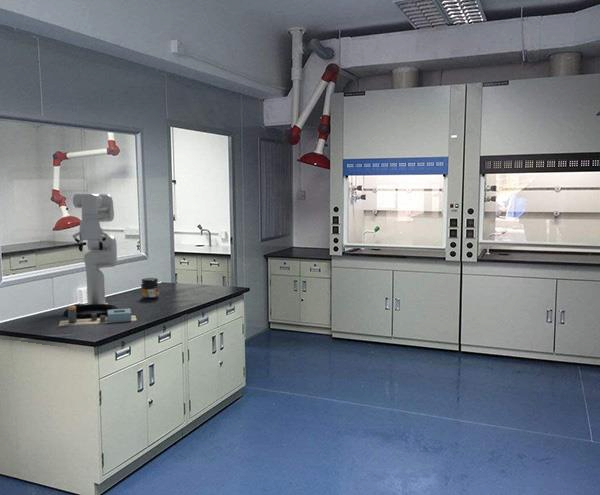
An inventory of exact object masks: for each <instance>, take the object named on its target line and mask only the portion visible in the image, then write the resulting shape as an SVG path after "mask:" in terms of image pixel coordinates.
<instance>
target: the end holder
mask: <svg viewBox="0 0 600 495" xmlns="http://www.w3.org/2000/svg"><path fill="white" fill-rule="evenodd" d="M131 316H132V310H131V308H118V309H114V310H108V316H107V317H108V322H112V323H121V321H125V322H133V321H132V320H131Z"/></svg>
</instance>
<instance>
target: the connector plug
mask: <svg viewBox="0 0 600 495" xmlns="http://www.w3.org/2000/svg"><path fill="white" fill-rule="evenodd" d="M67 309H68V317H67V318H68V320H69V323H76V322H77V320H78V319H77V318H76V314H77V313H76V306H74V305H69V306H67Z"/></svg>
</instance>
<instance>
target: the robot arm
mask: <svg viewBox="0 0 600 495" xmlns="http://www.w3.org/2000/svg"><path fill="white" fill-rule="evenodd" d="M72 204H73V207H74V208H76V209H81V220H80V222H79V231H78V232H76V233H74V234H72V238H73V239H74V241H75V242H76V243H77V244H78V250H79V251H80V252H83V250H84V249H83V241H86V242H87V243H86V244H87V250H88V252H86V253H85V254H84V257H83V262H84V265H85V266H84V267H85V272H86V273H85V274H86V276H85V277H86V298H87V299H86V301H87V303H85V304H84V305H88V304H109V302H106V288H105V286H106V284H105V274H104V273H103V271H102V270H101V269H102V268H114V267H116V266H117V262H118V253H117V252H118V248H117V247H118V246H117V238H116V237H115V236H113V235H109V234H108V233H105V232H104V230H103V228H102V227H101V224H100V223H107V222H113V220H114V218H115V210H114V201H113V197H112V196H111V195H110V194H108V193H91V192H90V193H89V192H88V193H75V194H74V195H73V197H72ZM78 236H79V237H78ZM77 237H78V238H79V239H78V238H77Z"/></svg>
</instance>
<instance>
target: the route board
mask: <svg viewBox="0 0 600 495" xmlns="http://www.w3.org/2000/svg"><path fill="white" fill-rule="evenodd" d="M97 313H98V312H94V314H93V313H91V314H92V318H85V319H79V318H77V319H76V320H77V322H76V323H69V319H67V320H66V319H65V320H60V321H59V325H58V327H69V326H71V327H72V326H81V325H82V326H83V325H97V324H109V323H113V322H108V316H105V315H102V316H100V317H98V318H97ZM131 320H132V321H131V322H137V317H136V315H131ZM121 322H123V323H124V322H126V321H121ZM121 322H120V323H121Z"/></svg>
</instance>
